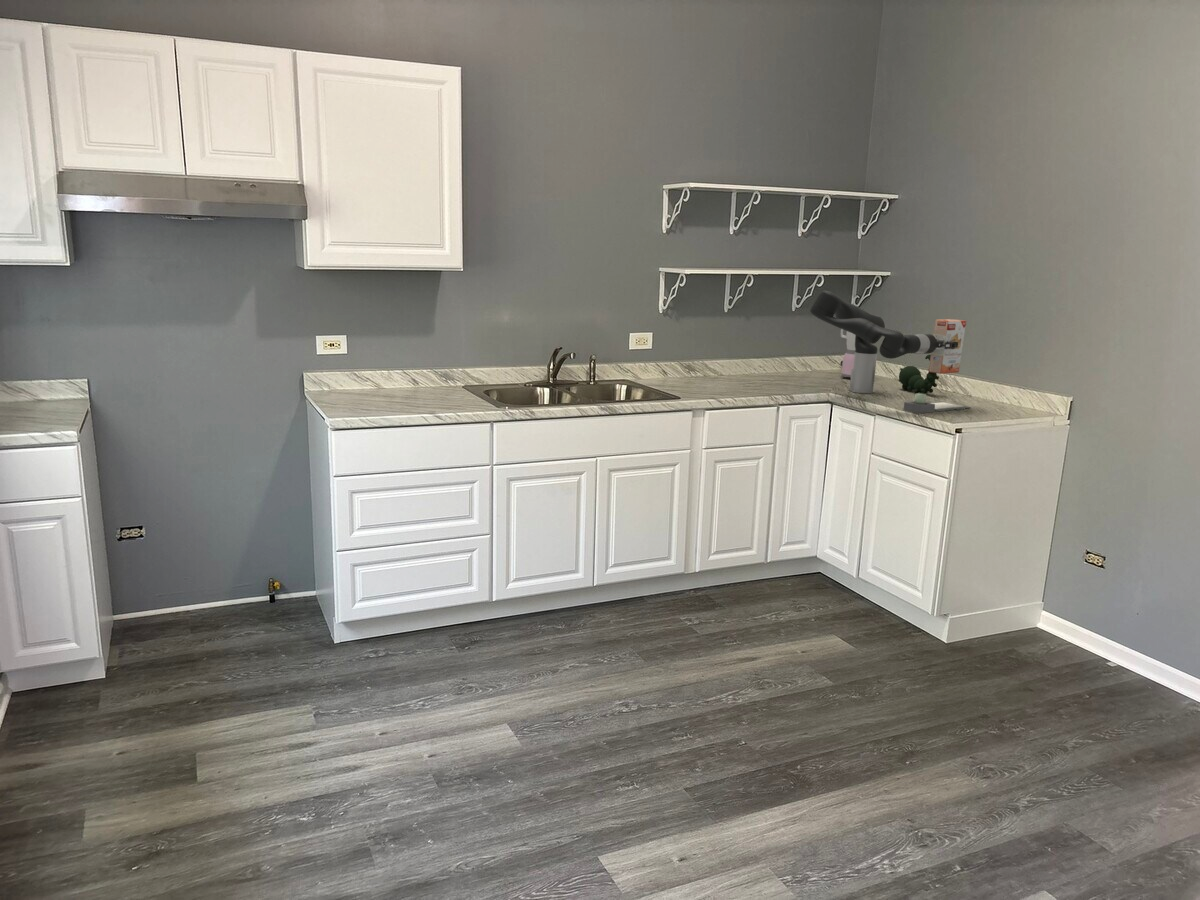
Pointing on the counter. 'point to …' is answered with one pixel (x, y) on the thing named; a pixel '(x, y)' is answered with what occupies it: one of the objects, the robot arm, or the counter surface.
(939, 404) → the mat
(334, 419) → the counter surface
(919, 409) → the grey square holder
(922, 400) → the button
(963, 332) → the cracker box
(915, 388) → the toy figurine
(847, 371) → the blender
